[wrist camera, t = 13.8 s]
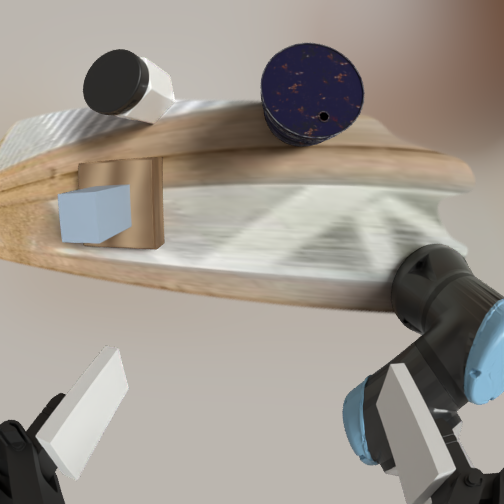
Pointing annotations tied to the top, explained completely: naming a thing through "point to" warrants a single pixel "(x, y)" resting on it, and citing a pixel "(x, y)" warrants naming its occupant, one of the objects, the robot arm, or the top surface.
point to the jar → (128, 87)
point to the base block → (132, 198)
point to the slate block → (94, 213)
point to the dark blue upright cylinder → (310, 94)
